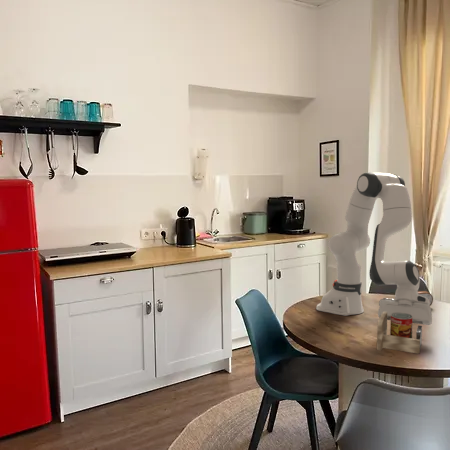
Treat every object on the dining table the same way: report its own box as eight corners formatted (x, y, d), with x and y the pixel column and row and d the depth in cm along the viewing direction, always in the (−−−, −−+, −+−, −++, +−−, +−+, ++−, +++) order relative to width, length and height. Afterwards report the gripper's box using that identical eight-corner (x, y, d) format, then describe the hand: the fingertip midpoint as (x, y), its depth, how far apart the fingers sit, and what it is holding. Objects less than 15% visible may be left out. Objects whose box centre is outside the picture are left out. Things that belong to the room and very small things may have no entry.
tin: (429, 306, 219) (430, 289, 218) (433, 308, 216) (434, 291, 215) (402, 308, 216) (402, 291, 216) (406, 310, 213) (406, 293, 212)
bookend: (415, 349, 165) (416, 331, 165) (417, 342, 172) (418, 325, 172) (419, 350, 165) (420, 332, 164) (421, 343, 172) (422, 325, 171)
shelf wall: (376, 349, 166) (377, 321, 165) (382, 337, 178) (383, 311, 177) (418, 356, 159) (419, 327, 158) (421, 343, 171) (422, 316, 170)
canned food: (386, 342, 173) (387, 312, 172) (405, 341, 174) (406, 311, 173) (395, 349, 166) (396, 319, 164) (415, 348, 166) (416, 318, 165)
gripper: (379, 293, 183) (374, 323, 176) (433, 299, 174) (430, 330, 166) (380, 301, 188) (376, 330, 180) (433, 307, 178) (431, 338, 171)
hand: (403, 330), depth 173 cm, fingers closed, pressing on canned food
